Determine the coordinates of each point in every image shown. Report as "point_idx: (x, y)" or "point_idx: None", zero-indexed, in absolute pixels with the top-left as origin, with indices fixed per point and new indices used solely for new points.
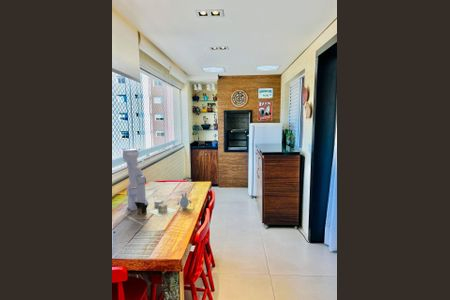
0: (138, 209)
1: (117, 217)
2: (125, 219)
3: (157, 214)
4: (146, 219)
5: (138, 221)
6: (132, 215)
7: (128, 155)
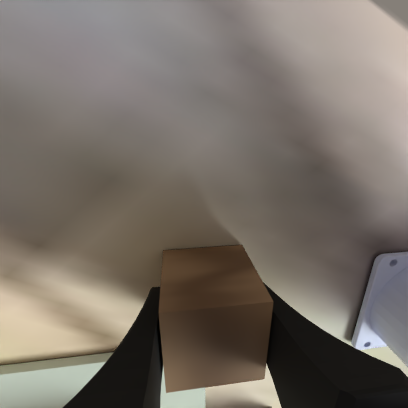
0: (225, 300)
1: (386, 18)
2: (223, 64)
3: (52, 381)
4: (15, 257)
5: (12, 160)
6: (271, 196)
7: None
